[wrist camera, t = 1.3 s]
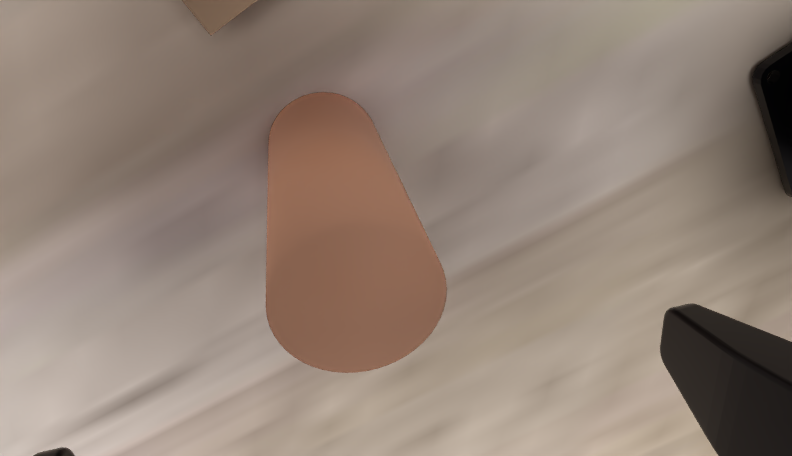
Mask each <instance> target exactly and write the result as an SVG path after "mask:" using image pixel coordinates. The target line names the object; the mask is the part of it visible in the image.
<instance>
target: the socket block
mask: <svg viewBox="0 0 792 456" xmlns="http://www.w3.org/2000/svg"><path fill="white" fill-rule="evenodd" d="M182 1H183V2H184V3H185V5H186V6H187V7H188V8H189V10H190V11H191V12H192V13H193V15H194V16H195V17H196V18H197V19H198V21H199V22H200V23H201V24H202V26H203V27H204V28H205V29H206V30H207V32H208V33H209V34H210V35H212V34H214V33H215V32H216V31H218V30H219V29H220V28H222V27H223V26H224V25H226V24H227V23H228V22H230V21H231V20H232V19H233V18H235V17H236V16H237V15H239V14H240V13H241V12H243V11H244V10H245V9H247V8H248V7H249V6H251V5H252V4H253V3H254V2H256V1H257V0H182Z"/></svg>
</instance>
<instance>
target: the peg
mask: <svg viewBox="0 0 792 456" xmlns="http://www.w3.org/2000/svg"><path fill="white" fill-rule="evenodd" d="M446 292H447V287H446V278H445V274H444V270H443V268H442V266H441V263H440V261H439V259H438V257H437V255H436V253H435V251H434V249H433V247H432V245H431V242H430V240H429V238H428V236H427V234H426V232H425V230H424V228H423V226H422V224H421V222H420V220H419V218H418V216H417V213H416V211H415V209H414V207H413V205H412V203H411V201H410V199H409V197H408V195H407V193H406V191H405V189H404V186H403V184H402V182H401V180H400V178H399V176H398V174H397V172H396V170H395V168H394V166H393V164H392V162H391V160H390V157H389V155H388V153H387V151H386V149H385V147H384V145H383V143H382V141H381V139H380V137H379V135H378V133H377V130H376V128H375V126H374V124H373V122H372V120H371V119H370V117H369V115H368V114H367V113H366V112H365V110H364V109H363V108H362V107H361V106H360V105H358V104H357V103H356V102H354V101H353V100H351V99H349V98H347V97H345V96H342V95H339V94H334V93H327V92H321V93H312V94H308V95H305V96H302V97H300V98H298V99H296V100H294V101H292V102H291V103H289V104H288V105H287V106H286V107H285V108H284V109H283V110H282V111H281V112H280V113H279V114H278V116H277V117H276V119H275V121H274V123H273V125H272V127H271V130H270V134H269V143H268V201H267V263H266V313H267V319H268V322H269V326H270V328H271V330H272V332H273V334H274V336H275V337H276V339H277V340H278V342H279V343H280V344H281V345H282V347H283V348H284V349H285V350H286V351H287V352H289V353H290V354H291V355H292V356H294V357H295V358H297V359H298V360H300V361H302V362H304V363H306V364H308V365H310V366H312V367H316V368H319V369H322V370H327V371H332V372H343V373H349V372H362V371H368V370H373V369H377V368H380V367H383V366H386V365H389V364H391V363H393V362H396V361H398V360H399V359H401V358H403V357H405V356H406V355H408V354H409V353H411V352H412V351H414V350H415V349H416V348H417V347H418V346H419V345H421V344H422V343H423V342H424V341H425V340H426V339H427V337H428V336H429V335H430V334H431V333H432V331H433V330H434V328H435V327H436V325H437V323H438V321H439V319H440V318H441V315H442V312H443V310H444V306H445V301H446Z"/></svg>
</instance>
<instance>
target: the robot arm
mask: <svg viewBox="0 0 792 456" xmlns="http://www.w3.org/2000/svg"><path fill="white" fill-rule="evenodd" d="M771 71H772V74H771V76H770V77H769V78H768V79H767V76H768V74H769V73H770V72H771ZM752 78H753V85H754V88H755V91H756V95H757V98H758V101H759V105H760V108H761V112H762V115H763V118H764V122H765V125H766V128H767V132H768V135H769V139H770V142H771V145H772V149H773V152H774V156H775V159H776V162H777V166H778V169H779V172H780V176H781V179H782V183H783V186H784V189H785V192H786V194H787V195H788V196H790V197H792V43H791V44H789V45H788V46H786V47H785V48H783V49H782V50H780V51H779V52H777V53H776V54H774V55H773V56H771V57H770V58H768V59H767V60H765V61H764V62H762V63H761V64H760V65H759V66H757V68H756V70H755V71H754V74H753V77H752ZM660 353H661V357H662V360H663V363H664V365H665V367H666V368H667V370H668V372H669V373H670V375H671V377H672V379H673V380H674V382H675V384H676V385H677V387H678V389H679V391H680V392H681V394H682V396H683V398H684V399H685V401H686V403H687V404H688V406H689V408H690V410H691V411H692V413H693V415H694V416H695V418H696V420H697V422H698V423H699V425H700V427H701V428H702V430H703V432H704V434H705V435H706V437H707V439H708V440H709V442H710V443H711V445H712V447H713V448H714V450H715V451H716V453H717V454H718V455H719V456H792V342H790V341H788V340H785V339H783V338H780V337H778V336H775V335H773V334H770V333H768V332H765V331H763V330H760V329H757V328H755V327H752V326H750V325H747V324H745V323H742V322H740V321H737V320H735V319H732V318H730V317H727V316H725V315H722V314H720V313H717V312H715V311H712V310H710V309H707V308H705V307H702V306H700V305H697V304H685V305H681V306H677V307H672V308H670V309H668V310H667V311H666V313H665V315H664V321H663V329H662V337H661V345H660ZM34 456H75V455H74V454H73V452H72V451H71V450H70V449H68V448H63V447H62V448H57V449H53V450H48V451H44V452H40V453H37V454H35V455H34Z"/></svg>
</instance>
